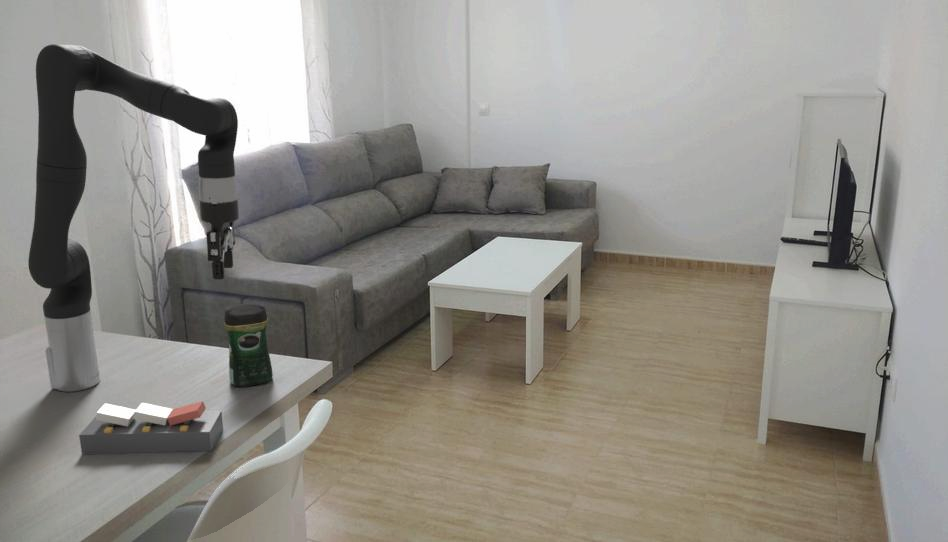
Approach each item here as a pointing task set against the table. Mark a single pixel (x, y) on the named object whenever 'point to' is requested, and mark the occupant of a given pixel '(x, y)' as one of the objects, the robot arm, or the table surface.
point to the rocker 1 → (115, 414)
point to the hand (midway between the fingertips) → (223, 273)
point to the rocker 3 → (186, 413)
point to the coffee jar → (248, 344)
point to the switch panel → (152, 436)
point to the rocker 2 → (152, 413)
